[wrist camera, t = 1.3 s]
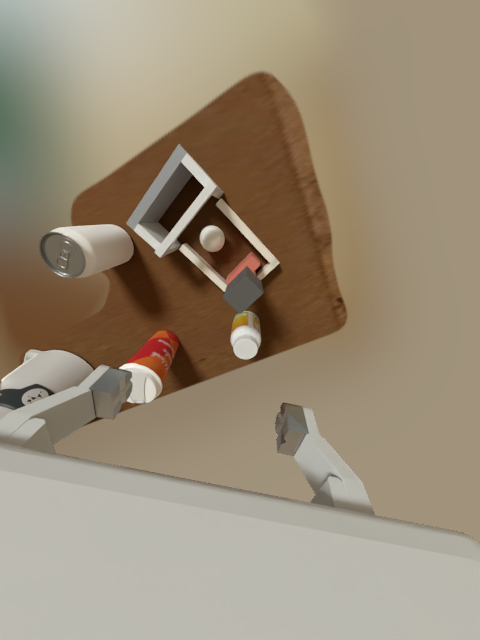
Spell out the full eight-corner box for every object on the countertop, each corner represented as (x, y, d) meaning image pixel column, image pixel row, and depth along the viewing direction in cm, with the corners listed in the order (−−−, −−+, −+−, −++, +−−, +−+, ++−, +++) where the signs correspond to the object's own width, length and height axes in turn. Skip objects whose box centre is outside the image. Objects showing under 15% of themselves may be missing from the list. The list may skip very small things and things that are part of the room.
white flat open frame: (236, 299, 41) (236, 303, 39) (182, 247, 37) (178, 249, 35) (278, 260, 37) (279, 262, 35) (222, 199, 33) (220, 198, 31)
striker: (239, 286, 39) (234, 319, 27) (227, 275, 38) (217, 303, 26) (263, 263, 37) (270, 287, 25) (251, 251, 36) (252, 269, 24)
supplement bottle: (229, 329, 44) (224, 357, 35) (238, 306, 41) (234, 331, 33) (254, 337, 44) (255, 367, 36) (263, 315, 42) (267, 341, 33)
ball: (215, 255, 37) (211, 259, 34) (197, 237, 36) (192, 240, 32) (230, 237, 36) (228, 240, 32) (213, 219, 35) (209, 219, 31)
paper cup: (186, 355, 47) (163, 406, 34) (153, 356, 48) (118, 406, 35) (180, 324, 44) (152, 368, 31) (144, 325, 44) (102, 369, 32)
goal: (177, 249, 37) (160, 257, 30) (148, 222, 35) (122, 223, 28) (224, 192, 33) (216, 186, 26) (193, 158, 31) (176, 141, 24)
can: (140, 239, 36) (95, 249, 26) (126, 270, 39) (80, 290, 28) (104, 215, 35) (40, 215, 24) (92, 248, 37) (29, 261, 27)
